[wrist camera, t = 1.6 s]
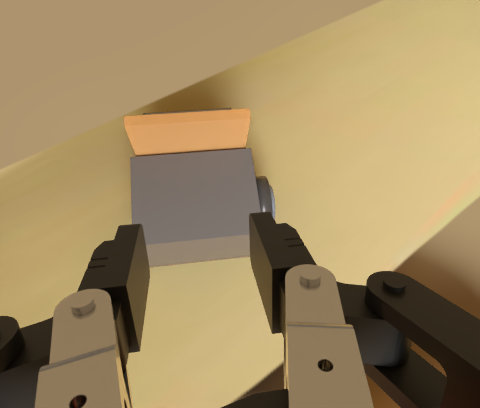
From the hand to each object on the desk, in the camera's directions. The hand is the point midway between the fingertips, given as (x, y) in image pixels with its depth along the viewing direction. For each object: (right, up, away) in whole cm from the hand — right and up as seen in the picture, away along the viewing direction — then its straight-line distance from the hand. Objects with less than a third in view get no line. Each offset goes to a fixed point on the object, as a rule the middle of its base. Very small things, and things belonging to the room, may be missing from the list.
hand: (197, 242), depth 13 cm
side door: (-4, +4, +32) cm, 33 cm away
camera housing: (-2, -1, +32) cm, 32 cm away
